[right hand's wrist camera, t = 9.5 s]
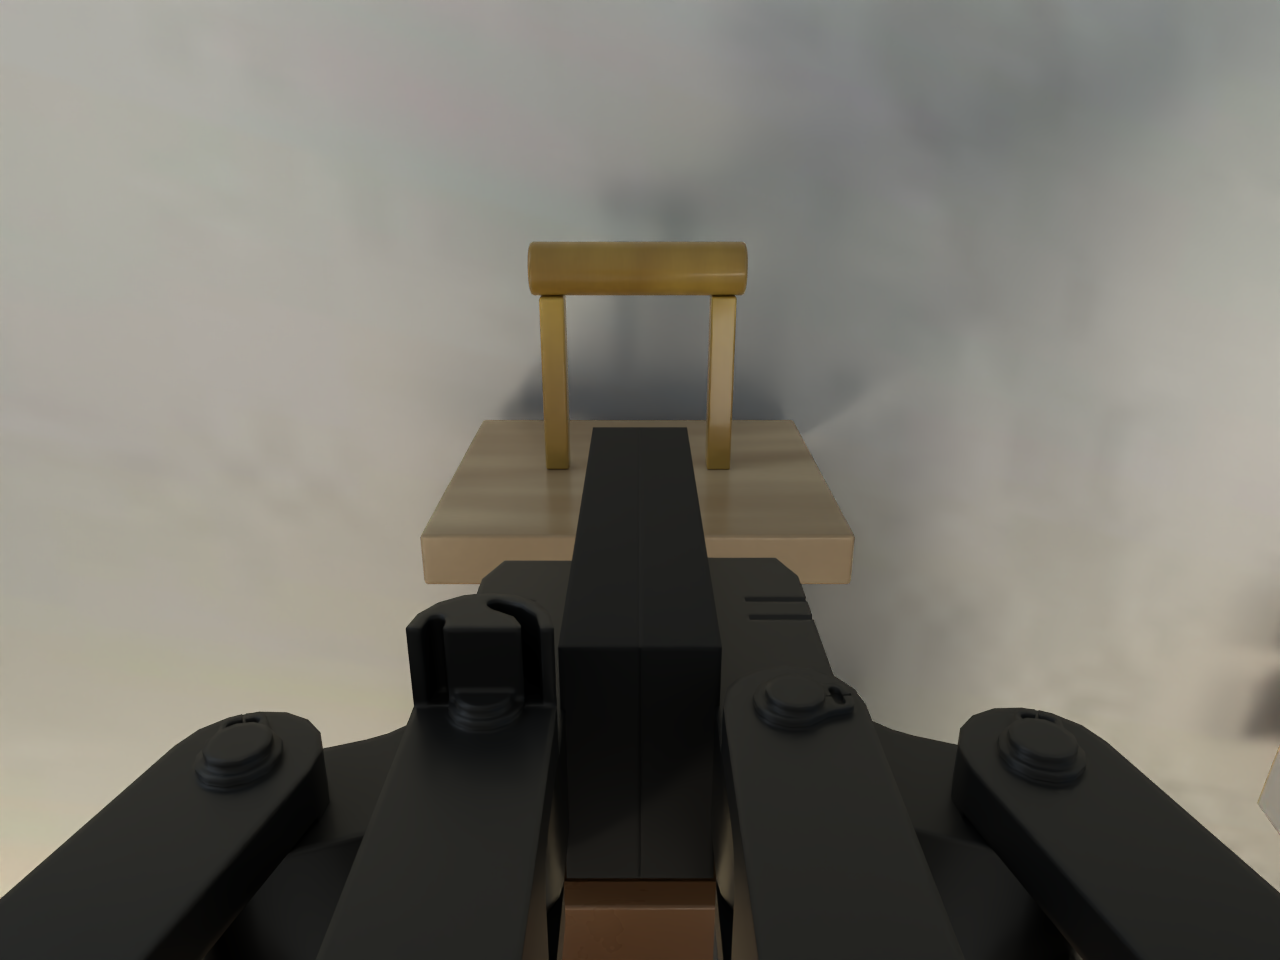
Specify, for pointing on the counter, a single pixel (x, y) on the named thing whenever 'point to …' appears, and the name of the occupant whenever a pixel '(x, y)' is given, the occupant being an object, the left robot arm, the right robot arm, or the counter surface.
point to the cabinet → (639, 920)
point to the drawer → (558, 447)
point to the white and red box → (1272, 794)
